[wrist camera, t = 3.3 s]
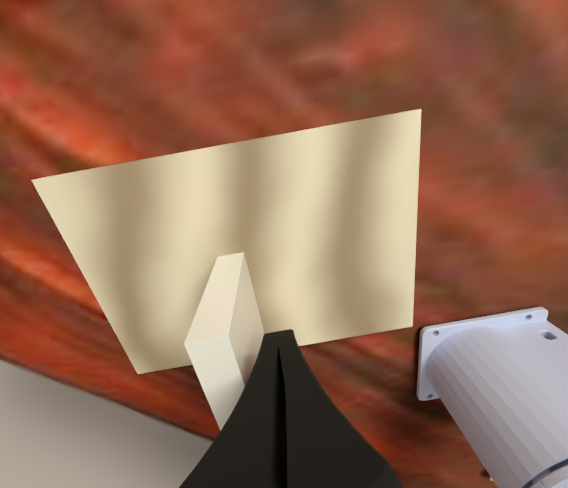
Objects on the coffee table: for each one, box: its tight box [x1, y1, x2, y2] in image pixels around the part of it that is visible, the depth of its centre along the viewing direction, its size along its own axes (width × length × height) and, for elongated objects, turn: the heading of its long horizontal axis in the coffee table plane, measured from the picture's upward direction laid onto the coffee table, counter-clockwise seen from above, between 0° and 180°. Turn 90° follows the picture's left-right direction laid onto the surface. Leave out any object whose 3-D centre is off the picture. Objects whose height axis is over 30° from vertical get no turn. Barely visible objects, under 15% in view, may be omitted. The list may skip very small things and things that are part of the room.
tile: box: [184, 252, 264, 431], centre depth 14 cm, size 2×6×7 cm, turn 10°
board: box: [32, 109, 421, 374], centre depth 17 cm, size 20×14×1 cm
